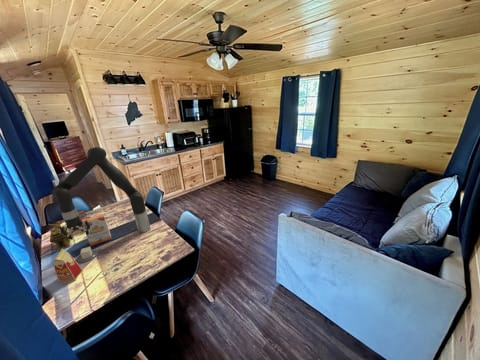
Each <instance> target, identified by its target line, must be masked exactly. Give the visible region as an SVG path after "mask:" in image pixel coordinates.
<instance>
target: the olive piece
mask: <svg viewBox="0 0 480 360" xmlns="http://www.w3.org/2000/svg"><path fill="white" fill-rule="evenodd" d="M47 225H49V226H54V229H52V231H51V233H50V236H49V237H50V238H49V242H50V243H53V244H55V245H56V248H55V250H56V251H61V249H62V248H63V250H64V249H66V248H70V246H71V239H69V237H68V236H67V235H66V236H63V233H62V230H61V228H62V226H61V222H60V221H56V223H55V224H54V223H52V224H50V223H48V224H47ZM66 233H68V228H66Z"/></svg>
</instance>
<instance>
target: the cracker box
mask: <svg viewBox="0 0 480 360" xmlns="http://www.w3.org/2000/svg"><path fill="white" fill-rule="evenodd" d="M90 217H91V218H87V219H83V220H82V222H84V221H85V220H87V221H88V223H89V225H90V229H88V231H89V234H88V235H86V234H85V235H86V238H87V241H88V244H89V247H92V246H96V245H99V244H101V243H104V242H106V241H110V240H112V234H111V232H110V229H109V225H108V222H107V219H106V216H105V214H104V213H102V214H98V215H95V216H90ZM82 225H84V226H85V227H87V226H86V224H82ZM83 232H85V230H84V231H83Z"/></svg>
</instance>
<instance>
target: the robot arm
mask: <svg viewBox="0 0 480 360" xmlns="http://www.w3.org/2000/svg"><path fill="white" fill-rule="evenodd" d="M86 154H87V157H86V159H85V160H84V161H83V162H82V163H81V164H80V165H78V166H77V167H76V168H75V169H73V171H71V172H70V174H68V176H67V177H65V179H64V180H63V181H61V182H60V183H58V184H57V185H56V186H54V188H52V191H51V195H52V196H53V198H56V200H57V201H58V208H59V211H60V212H61V216H62V219H63V220H64V223H65V225H66V226H64V225H62V226H61V227H62V228H61V230H62V233H63V236H66V235H67V236H68V237H69V239H70V241H73V240H74V237H73V234H72V232H76V231H78V230H81V229H82V230H85V231H84V234H85V235H88V234H89V231H88V229H90V225H89V223H88V221H87V220H85V221H84V222H82V221H81V219H80V217H79V215H78V213H79V212H78V210H77V209H76V207H75V204H74V202H73V197H72V193H71V192H70V190H72V189H73V188H75V187H77V186H78V185H79V184H80V183H81V182H82V181H83V179H84V178H85V177H86V176H87V175H88V174H89V173H90V172H91V171H92V169H94V168H95V167H96V166H97V167H98V168H100V170H102V172H103V173H104V175H105V176H106V177H107V178H108V179H109V180H110V181H111V182H112V183H113V184H114V186H115V187H117V188H119V189H120V190H122V191H123V192H124V193H125V195H126V196H127V197H128V199H129V203H130V206H131V209H132V213H133V217H134V220H135V224H136V227H137V231H138V232H139V233H147V232H148V231H150V230H151V223H150V221H149V217H148V213H147V209H146V204H145V201H144V196H143V194H142V193H141V192H140V191H138V190H137V189H136V188H135V187H134V186H133V184H132V183H131V181H130V180H129V179H128V178H127V176H126V175H125V174H124V173H123V172H122V170H121V169H119V168H118V167H116V166H115V165H114V164H112V163H111V162H110V160H108V158H107V151H106V149H104V148H103V147H99V146H96V147H94V146H93V147H91V148H89V149H88V150H87V153H86ZM82 224H86V226H87V227H85V226H84V225H82ZM66 228H67V230H68V231H67V233H66ZM82 230H81V231H82Z"/></svg>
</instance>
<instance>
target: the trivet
mask: <svg viewBox="0 0 480 360" xmlns="http://www.w3.org/2000/svg"><path fill="white" fill-rule="evenodd" d="M91 250H92V256H91V257H88V258H85V259H83V258H82V256H81V254H79V255H78V256H77V258H76V262H77V263H78V264H80V263H81V264H82V263H87V262H90V261H92V260H93V259H95V258H96V257H97V256H98V254H99V252H98V250H97V249H91Z"/></svg>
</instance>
